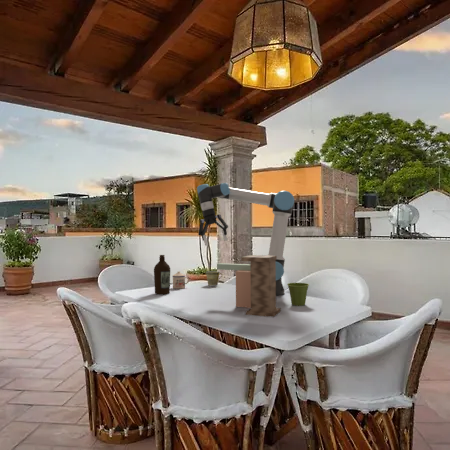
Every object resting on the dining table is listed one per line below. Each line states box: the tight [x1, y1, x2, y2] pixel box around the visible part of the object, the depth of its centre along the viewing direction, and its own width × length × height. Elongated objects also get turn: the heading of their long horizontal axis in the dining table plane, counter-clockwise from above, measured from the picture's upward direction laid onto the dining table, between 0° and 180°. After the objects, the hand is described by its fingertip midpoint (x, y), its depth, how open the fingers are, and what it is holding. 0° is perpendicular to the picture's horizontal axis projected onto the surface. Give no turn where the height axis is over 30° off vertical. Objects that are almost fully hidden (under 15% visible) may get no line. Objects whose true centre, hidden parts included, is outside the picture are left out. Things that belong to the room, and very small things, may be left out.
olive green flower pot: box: [205, 270, 223, 287], centre depth 278 cm, size 13×10×10 cm
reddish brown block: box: [235, 270, 251, 309], centre depth 207 cm, size 14×14×19 cm
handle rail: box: [216, 262, 251, 271], centre depth 210 cm, size 26×6×4 cm, turn 68°
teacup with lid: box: [172, 270, 190, 290], centre depth 269 cm, size 12×9×12 cm
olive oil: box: [153, 254, 171, 296], centre depth 245 cm, size 11×11×25 cm
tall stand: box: [240, 254, 282, 318], centre depth 189 cm, size 16×14×28 cm
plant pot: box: [286, 282, 310, 307], centre depth 207 cm, size 12×12×11 cm
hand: (216, 243), depth 231 cm, fingers open, 13 cm apart
